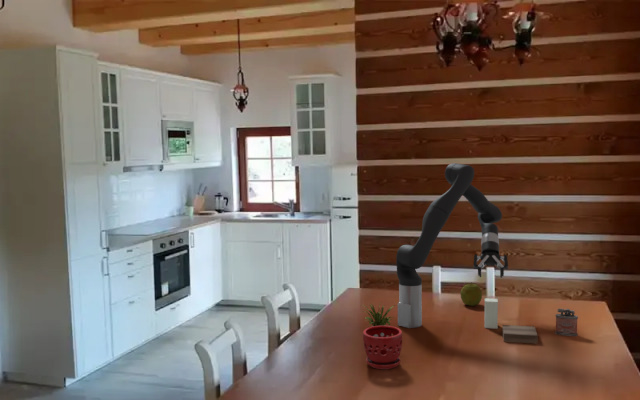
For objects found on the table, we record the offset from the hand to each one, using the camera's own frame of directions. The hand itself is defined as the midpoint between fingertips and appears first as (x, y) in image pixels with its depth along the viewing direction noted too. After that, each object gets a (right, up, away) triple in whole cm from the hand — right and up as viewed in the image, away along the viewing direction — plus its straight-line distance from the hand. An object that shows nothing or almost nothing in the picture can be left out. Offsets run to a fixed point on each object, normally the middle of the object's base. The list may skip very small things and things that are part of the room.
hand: (490, 276), depth 259 cm
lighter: (+23, -20, -21) cm, 38 cm away
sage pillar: (-3, -19, -10) cm, 22 cm away
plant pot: (-51, -24, -53) cm, 77 cm away
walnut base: (+4, -20, -25) cm, 32 cm away
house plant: (-52, -22, -31) cm, 64 cm away
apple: (-2, -17, +25) cm, 30 cm away
